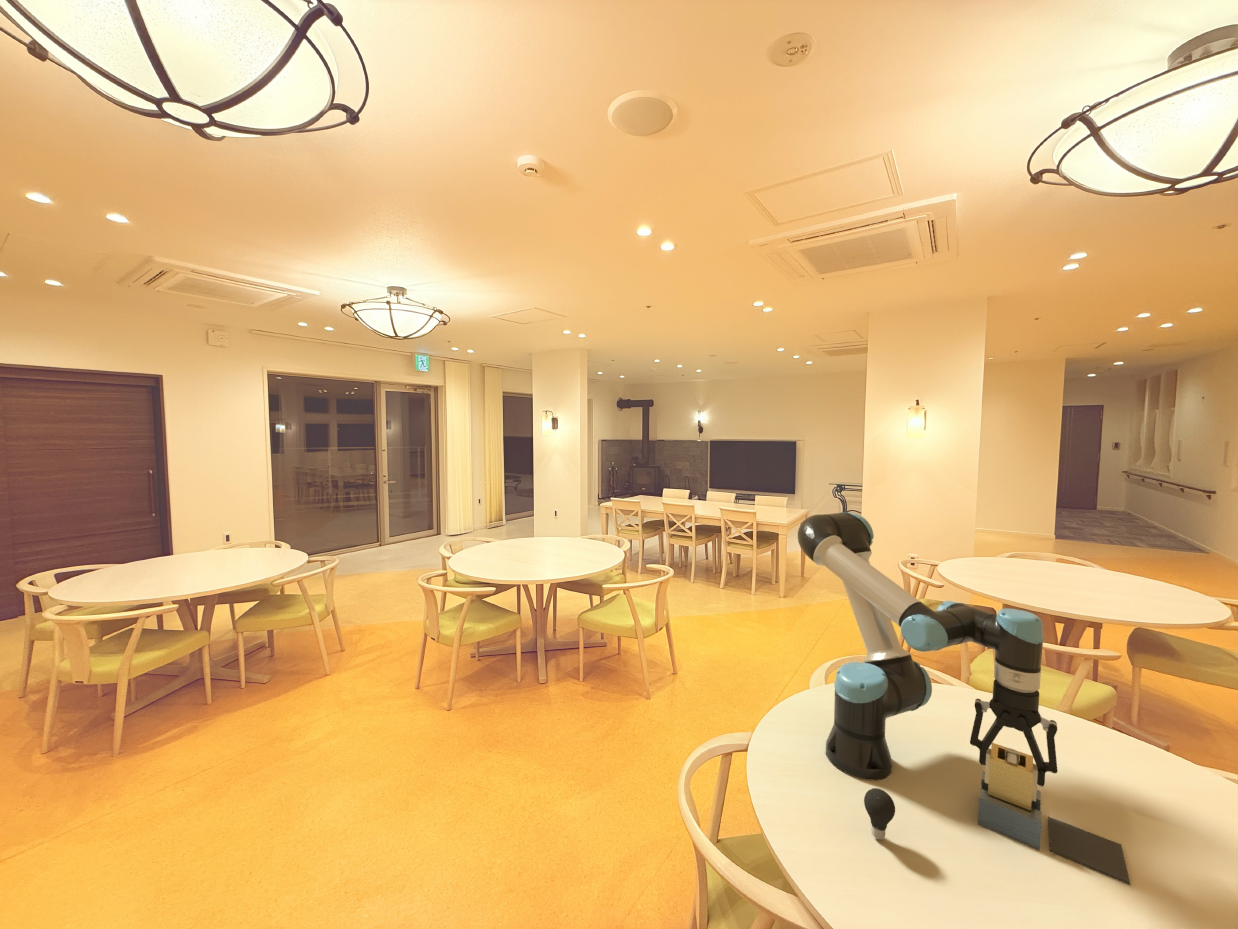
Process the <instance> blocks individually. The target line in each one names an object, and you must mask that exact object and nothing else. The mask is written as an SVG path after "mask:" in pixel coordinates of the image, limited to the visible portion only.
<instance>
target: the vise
mask: <svg viewBox="0 0 1238 929" xmlns="http://www.w3.org/2000/svg"><path fill="white" fill-rule="evenodd" d="M1019 752H1020V751H1019ZM1019 752H1018V750H1016V749H1014V748H1011V747H1007V748H1006V749H1005V761H1008V762H1011V763H1014V764H1017V765H1019V760H1020V753H1019ZM980 783H981V788H979V796H978V812H977V813H978V815H977V816H978V817H977V825H978V826H981V827H982V828H985V829H988V830H990V831H992V832H995V833H997V834H998V835H999V834H1000V835H1001V836H1004V837H1006V838H1009V839H1012V840H1014V841H1016V842H1019V843H1021V844H1023V845H1025V846H1028V847H1031V848H1033V849H1035V850H1038V851H1039V852H1040V851H1041V845H1042V844H1041V840H1042V839H1041V838H1042V826H1043V825H1042V824H1043V823H1042V822H1043V819H1042V811H1041V804H1042V797H1041V796H1042V794H1041V793H1042V792H1041V790H1038V789H1037V792H1036V802H1035V801H1032V803H1031V811H1030V810H1027V809H1025V808H1022V807H1020V806H1017V805H1015V804H1012V803H1009V802H1007V801H1004V800H1002V799H999V798H997V797H994V796H992V795H989V794H988V784H987V783H985V770H982V775H981V782H980Z"/></svg>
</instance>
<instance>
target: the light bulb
mask: <svg viewBox="0 0 1238 929" xmlns="http://www.w3.org/2000/svg"><path fill="white" fill-rule="evenodd" d="M863 802H864V803H863V804H864V807H865V810H866V813H867V814H868V816H869V820H870V824H871V834H872V836H873V837H874V838H875V839H876V840H877V841H880V840H884V839H885V838H886V830H887V828H888V825H889V823H890V822H891V821H892V820H893V818H894V817H895V814H896V806H895V802H894V800H893V798H892V797H891V795H890V794H889V793H888V792H886V791H885V790H884V789H881V788H878V787H877V788H876V787H875V788H871V789H869V790H867V791H866V792H865V795H864V799H863Z"/></svg>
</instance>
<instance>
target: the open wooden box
mask: <svg viewBox="0 0 1238 929" xmlns="http://www.w3.org/2000/svg"><path fill="white" fill-rule="evenodd" d="M1006 748H1008V747H1007V746H1004V745H1000V744H998V743H994V742H992V744H991V745H990V749H991V754H990V768H989V784H988V794H989V795H992V796H994V797H997V798H999V799H1002V800H1004V801H1007V802H1009V803H1012V804H1015V805H1017V806H1020V807H1022V808H1025V809H1027V810H1030V811H1031V803H1032V787H1033V764H1034V758H1033V755H1032V754H1031V755H1030V754H1028V753H1024V752H1023V751H1022V752H1021V751H1018V750H1017V751H1018V752H1019V753H1020V760H1019V765H1017V764H1014V763H1011V762H1008V761H1005V749H1006Z"/></svg>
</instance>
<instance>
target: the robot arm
mask: <svg viewBox="0 0 1238 929" xmlns="http://www.w3.org/2000/svg"><path fill="white" fill-rule="evenodd" d="M874 536H875V535H874V530H873V528H872V526H871V524H870V523H869V521H868V520H867V519H866V518H865V517H863V516H861V515H860V514H858V513H855V512H843V511H842V512H838V513H837V512H836V513H826V514H824V513H823V514H821V513H820V514H814V515H810V516H808V517H807V518H806V519H804V520H803V521H802V522H801V524H800V525H799V527H798V530H797V542H798V545H799V548H800V549H801V550H802V551H803V553H804V554H805V555H806V556H807V557H808V558H809V559H810V560H811V561H812V562H813V563H815V564H816V565H817V566H822V567H823V566H824V567H825V568H827V570H829V571H831V572H832V573H833V574H835V575H836V576H837V578H839V579H840V580H842V584H843V586H844V589H845V592H846V595H847V597H848V601H849V604H850V606H851V610H852V612H853V615H854V618H855V621H856V624H857V626H858V629H859V633H860V636H861V638H862V640H863V643H864V648H865V649H866V655H865V657H864V661H861V662H858V661H852V662H851V661H850V662H847V663H844V664H843V665H841V666H840V667H839V668H838V669H837V670H836V675H835V680H834V707H833V708H834V711H833V712H834V716H833V720H834V721H833V725H832V727H831V729H830V732H829V734H828V736H827V739H826V743H825V755H826V758H827V759H828V760H829V762H830V763H831V764H832V765H833V766H834V767H836V768H837V769H839V771H842V772H844V773H845V774H847V775H849V776H852V777H855V778H858V779H861V780H867V781H880V780H884V779H886V778H888V777H889V776H890V775H891V774H892V770H893V769H892V768H893V759H892V756H891V752H890V750H889V749H890V748H889V746H888V743H887V739H886V721H887V720H886V719H888V718H890V717H894V716H897V715H900V714H904V713H908V712H913V711H916V710H918V709H919V708H921V707H923V706H925V705H927V703H928V702H929V701H930V699H931V698H932V693H933V685H932V680H931V678H930V675H929V673H928V672H927V670H926V669H925V667H923V666H921V664H920V663H919V662H918V661H915V660H913V658H912V654H911V652H910V651H908V650H907V649H904V648H903V647H902V645H901V642H900V640H899V637H898V635H897V632H896V630H895V626H894V624H896V625H897V626H898V627H900V634H901V637H902V638H903V639H904V642H905V643H906V644H907V645H908V647H910V648H911V649H913V650H915V651H918V652H922V653H924V652H925V653H926V652H927V653H928V652H936V651H940V650H943V649H946V648H948V647H953V646H958V645H962V644H965V643H974V644H977V645H980V646H983V647H985V648H988V649H993V650H994V668H993V669H994V670H993V677H994V679H993V686H992V698H991V699H990V700H989V701H984V700H982V699H980V698H975V701H974V709H975V716H974V717H975V718H974V721H973V725H972V728H971V729H972V731H971V736H970V738H969V739H970V740H969V743H970V745H971V746H972V747H973V746H974V747H976V748H978V750H979V757H978V759H979V760H978V762H979V764H980V765H981V766H984V767H985V768H984V771H985V783H987V784H989V768H990V754H991V746H992V743H994V740H995V739H996V737H997V736H998V735H999V733H1000V732H1001V730H1003V728H1004V727H1005V728H1010V729H1011V728H1012V729H1014V730H1017V731H1019V732H1021V733H1023V735H1024V737H1025V738H1026V743H1027V745H1028V747H1029V750H1030V752H1031V756H1033V761H1034V763H1033V787H1032V801H1035V802H1036V792H1037V790H1038V789H1037V788H1038V786H1040V787H1044V786H1045V783H1046V782H1045V780H1046V773H1047V772H1049V773H1053V774H1057V773H1058V764H1057V763H1058V760H1057V752H1056V742H1055V736H1056V734H1057V732H1058V723H1057V721H1055V720H1053V719H1050V720H1049V719H1046V718H1045V717H1042V716H1041V714H1040V711H1039V705H1040V704H1039V703H1040V692H1039V690H1040V689H1041V673H1042V656H1043V645H1044V641H1045V638H1044V623H1043V622H1044V621H1043V620H1042V619H1041V618H1040V616H1038V615H1036V614H1035V613H1032V612H1030V611H1026V610H1022V609H1021V610H1020V609H1015V608H1007V607H1006V608H1002V609H999V610H998V612H997V614H996V613H992V612H989V611H987V610H983V609H979V608H977V607H974V606H971V605H968V604H965V603H963V602H957V601H952V600H945V601H942V603H941V604H940V605H938V607H937V608H936V611H935V610H933V609H932V608H930V607H929V606H928V605H926V604H925V603H923V602H922V601H920V600H919V599H918V598H916V597H915V596H914V595H913V594H911V593H910V592H908V591H907V590H906V589H904V588H903V587H901V586H900V585H899V584H897V583H896V582H895V581H893V579H891V578H889V577H888V576H886V575H885V574H884V573H882V572H881V571H879V570H878V569H877V568H876V567H874V566H873V565H871V563H870V557H871V556H872V553H873V552H872V549H871V546H872V544H873V539H874ZM893 623H894V624H893ZM988 709H990V710H991V712H992V713H993V714H994V716H995V717H996V718H995V719H994V721H993V723H992V724H991V726H990V728H988V729H987V730H988V731H987V732H986V734H985V735H984V736H983V738H982V739H979V735H980V731H981V727H982V723H983V718H984V717H983V716H984V713H987V712H988ZM1038 724H1041V726H1042V730H1043V731H1045V733H1046V747H1047V756H1048V761H1045V760H1044V757H1043V754H1042V753H1041V749H1040V747H1039V744H1038V742H1037V740H1036V737H1035V734H1034V731H1033V729H1032V728H1033V727H1035V726H1037V725H1038Z"/></svg>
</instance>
